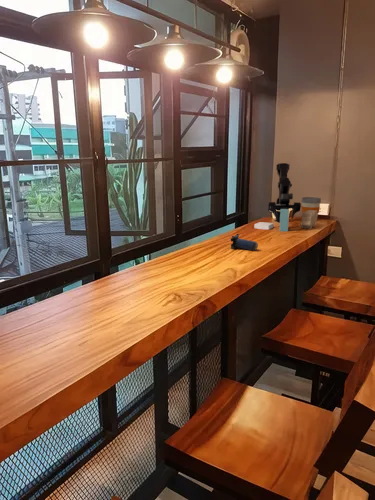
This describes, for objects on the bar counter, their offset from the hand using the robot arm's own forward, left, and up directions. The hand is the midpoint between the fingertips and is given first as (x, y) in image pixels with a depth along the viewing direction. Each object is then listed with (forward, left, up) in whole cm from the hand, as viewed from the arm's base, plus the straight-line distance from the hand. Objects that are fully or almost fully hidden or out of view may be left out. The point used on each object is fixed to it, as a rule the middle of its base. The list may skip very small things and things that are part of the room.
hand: (284, 217), depth 231 cm
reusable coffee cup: (-21, +43, -8) cm, 49 cm away
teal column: (0, 0, -8) cm, 8 cm away
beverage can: (+26, -49, -8) cm, 56 cm away
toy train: (-1, +21, -8) cm, 23 cm away
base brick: (-13, -4, -8) cm, 16 cm away
